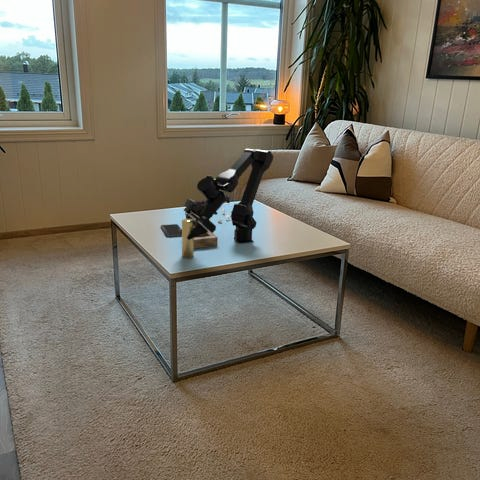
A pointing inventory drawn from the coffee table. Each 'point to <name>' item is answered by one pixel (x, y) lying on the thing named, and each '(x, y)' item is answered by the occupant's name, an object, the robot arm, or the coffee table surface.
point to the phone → (171, 230)
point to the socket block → (205, 240)
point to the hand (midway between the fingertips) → (184, 236)
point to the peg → (187, 244)
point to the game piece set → (226, 216)
